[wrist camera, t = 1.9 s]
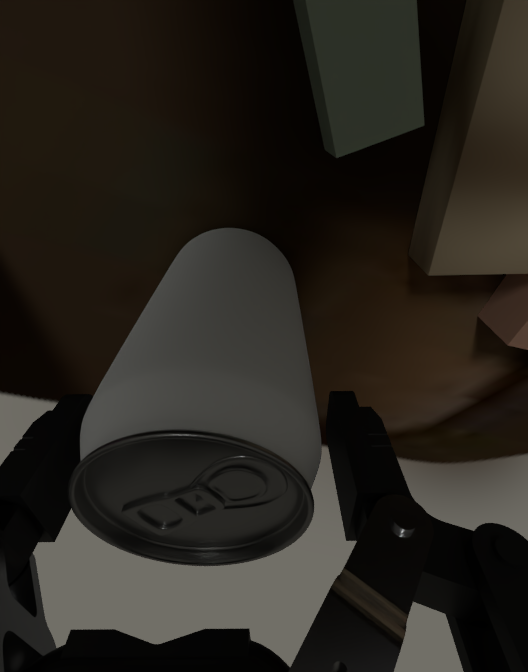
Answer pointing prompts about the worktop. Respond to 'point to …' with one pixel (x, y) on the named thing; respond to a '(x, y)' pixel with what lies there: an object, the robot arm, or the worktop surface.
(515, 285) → the brick terracotta
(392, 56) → the brick sage
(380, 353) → the worktop surface
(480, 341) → the worktop surface
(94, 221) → the worktop surface
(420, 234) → the oak pad
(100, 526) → the can
